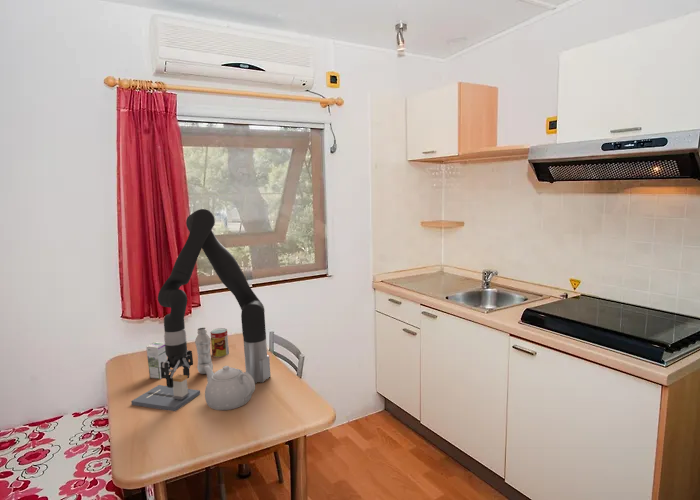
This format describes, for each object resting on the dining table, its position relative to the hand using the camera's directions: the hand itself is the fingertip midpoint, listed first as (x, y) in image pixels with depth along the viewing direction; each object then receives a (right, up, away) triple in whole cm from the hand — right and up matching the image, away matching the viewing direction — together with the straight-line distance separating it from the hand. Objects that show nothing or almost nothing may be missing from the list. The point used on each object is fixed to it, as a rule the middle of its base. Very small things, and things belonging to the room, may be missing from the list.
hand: (178, 382), depth 161 cm
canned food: (+1, -1, +48) cm, 49 cm away
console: (-6, -7, +3) cm, 10 cm away
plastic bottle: (+1, -4, +27) cm, 27 cm away
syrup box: (-18, -5, +25) cm, 31 cm away
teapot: (+20, -7, 0) cm, 21 cm away
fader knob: (+1, -5, 0) cm, 5 cm away
